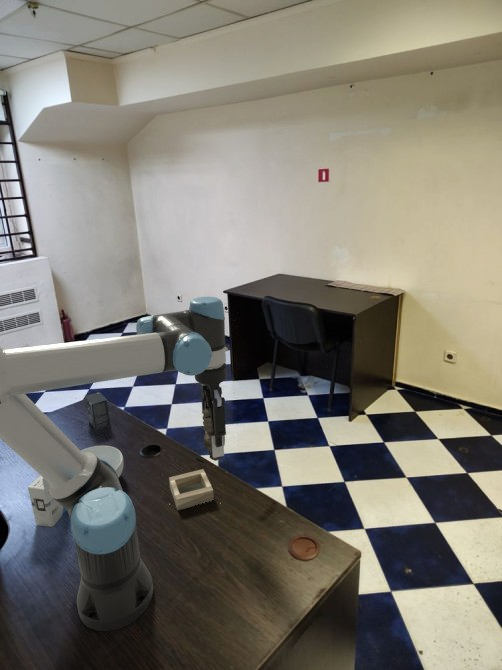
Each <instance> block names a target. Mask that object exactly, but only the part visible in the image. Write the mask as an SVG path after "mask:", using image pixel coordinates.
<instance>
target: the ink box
mask: <svg viewBox="0 0 502 670" xmlns="http://www.w3.org/2000/svg"><path fill="white" fill-rule="evenodd" d="M49 487H50V483H48V482H47V481H46V480H45V479H44V478H43V477H42V476H41V475H40V474H39V476H38V477H37V478H36V479H35V480H34V481H33V482H32V483H31V484H30V485H28V486H27V490H28V494H29V498H30V503H31V506H32V507H31V508H32V512H33V515H34V520H35V525H36V526H41V527H50V528H53V527H54V526H55V525H56V524H57V523H58V522H59V520H60V519H61V518H62V517H63V516H64V514H65V513H66V512H67V510H66V509H65V508H64V507H63V506H62V505H61V504H59V503H58V502H57V501H56V500H55V499H54V498H53V497H52V496H51V495H50V493H49Z"/></svg>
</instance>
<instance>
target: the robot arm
mask: <svg viewBox="0 0 502 670" xmlns="http://www.w3.org/2000/svg"><path fill="white" fill-rule="evenodd" d="M225 320H226V316H225V309H224V303H223V301H222V300H221V298H219V297H214V296H200V297H199V296H198V297H197V298H193V299H191V300H190V302H189V308H188V309H186V310H179V311H175V312H169V313H167V312H166V313H160V314H152V315H148V316H144V317H141V318H139V319H138V320H137V322H136V326H135V328H136V334H132V335H124V336H122V335H121V336H114V337H105V338H97V339H89V340H88V339H86V340H77V341H70V342H62V343H61V342H60V343H52V344H41V345H34V346H33V345H32V346H26V347H17V348H15V347H14V348H7V349H5V348H3V347H1V346H0V440H1V441H2V442H3V443H4V444H5V445H6V446H7V447H9V448H10V449H11V450H12V451H13V452H14V453H15V454H17V456H19V457H20V458H21V459H22V460H23V461H24V462H25V463H26V464H27V465H29V466H30V467H31V468H32V469H33V470H34V471H35V472H36V473H37V474H39V476H40V475H41V476H42V477H43V478H44V479H45V480H46V481H47V482H48V483H50V487H49V493H50V495H51V496H52V497H53V498H54V499H55V500H56V501H57V502H58V503H59V504H61V505H62V506H63V507H64V508H65V509H66V510H67V511H66V512H67V514H68V517H69V520H70V521H69V522H70V532H71V535H72V538H73V542H74V547H75V552H76V556H77V562H78V567H79V572H80V577H81V578H80V581H79V586H78V591H77V596H76V606H77V611H78V612H77V613H78V616H79V619H80V621H81V622H82V624H84V626H86V627H88V628H89V629H91V630H94V631H98V632H111V631H116V630H119V629H123V628H125V627H127V626H128V625H130V624H132V623H134V622H135V621H137V620H138V619H139V618H140V617H141V616H142V615H143V613H145V611H146V610H147V609H148V607H149V606H150V604H151V602H152V598H153V594H154V585H153V579H152V578H153V577H152V575H151V572H150V570H149V569H148V568H147V566H146V565H145V563H144V561H143V559H142V558H141V554H140V553H141V552H140V544H139V537H138V530H137V524H136V523H137V518H136V517H137V516H136V510H135V507H134V504H133V501H132V499H131V497H130V496H129V495H128V494H127V493H126V492H125V491H123V488H122V485H121V483H120V480H119V479H120V477H119V478H118V476H117V473H116V471H115V469H114V468H113V467H112V466H111V465H110V464H109V463H108V462H107V461H105V460H104V459H101V458H98V457H97V456H96V455H95V454H93V453H91V452H84V453H82V452H81V451H80V449H79V448H78V447H77V446H76V444H75V443H73V442H72V440H71V439H70V438H69V437H68V436H67V435H66V434H65V433H64V432H63V431H62V430H61V429H60V428H59V427H58V426H57V425H56V424H55V423H54V422H53V421H52V420H51V419H50V417H48V416H47V415H46V414H45V413H44V412H43V411H42V410H41V409H40V408H39V407H38V406H37V405H36V404H35V403H34V402H33V401H32V400H31V398H29V397H28V396H27V394H31V393H39V392H43V391H51V390H57V389H63V388H69V387H75V386H83V385H88V384H89V385H90V384H95V383H100V382H101V383H102V382H108V381H114V380H121V379H127V378H133V377H140V376H147V375H153V374H159V373H165V372H166V373H167V372H172V371H173V372H174V371H178V372H179V373H180V374H183V375H185V376H189V377H190V376H192V377H193V376H194V379H195V382H197V383H199V384H200V397H201V410H202V411H201V413H202V415H203V410H204V409H206V408H210V415H211V423H212V431H213V432H212V433H210V436H212V453H213V458H216V457H220V458H221V457H224V456H225V445H224V441H223V435H225V436H226V435H227V430H226V429H227V427H226V412H225V409H226V408H225V405H226V403H225V401H226V399H225V397H224V396H223V397H222V394H223V388H222V386H220V385H221V383H223V382H224V381H226V379H227V377H228V373H227V372H228V371H227V363H226V361H227V357H226V356H227V355H226V353H227V352H228V347H226V330H225V329H226V328H225V327H226V325H225V323H226V322H225ZM206 433H207V431H205V434H206Z"/></svg>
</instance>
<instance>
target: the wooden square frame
mask: <svg viewBox="0 0 502 670" xmlns="http://www.w3.org/2000/svg"><path fill="white" fill-rule="evenodd" d="M168 481H169V483H168V484H169V488H170V492H171V495H172V497H173V501H174V505H175V507H176V510H177V511H181V510H185V509H188V508H191V507H192V508H193V507H195V505H196V506H199V505H203V504H206V503H205V502H207V503H210V502H213V501H212V500H214V501H215V498H214V489H213V487H212V484H211V482H210V480H209V478H208V476H207V474H206V472H205V469H204V468H202V469H198V470H194V471H190V472H186V473H181V474H179V475H173V476H170V477H168ZM209 501H210V502H209ZM202 503H203V504H202ZM198 504H199V505H198Z"/></svg>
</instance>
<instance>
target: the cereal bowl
mask: <svg viewBox="0 0 502 670" xmlns="http://www.w3.org/2000/svg"><path fill="white" fill-rule="evenodd" d="M79 450H80V449H79ZM80 451H81V452H82V453H84V452H91V453H93V454H95V455H96V456H97V457H98V458H101V459H104V460H105V461H107V462H108V463H109V464H110V465H111V466H112V467H113V468H114V469H115V471H116V473H117V476H118V478H119V479H120V476H121V475H122V472H123V470H124V456H123V453H122V452H121V451H120V449H118V448H117V447H113V446H110V445H94V446H89V447H87V448H83V449H81V450H80Z"/></svg>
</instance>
